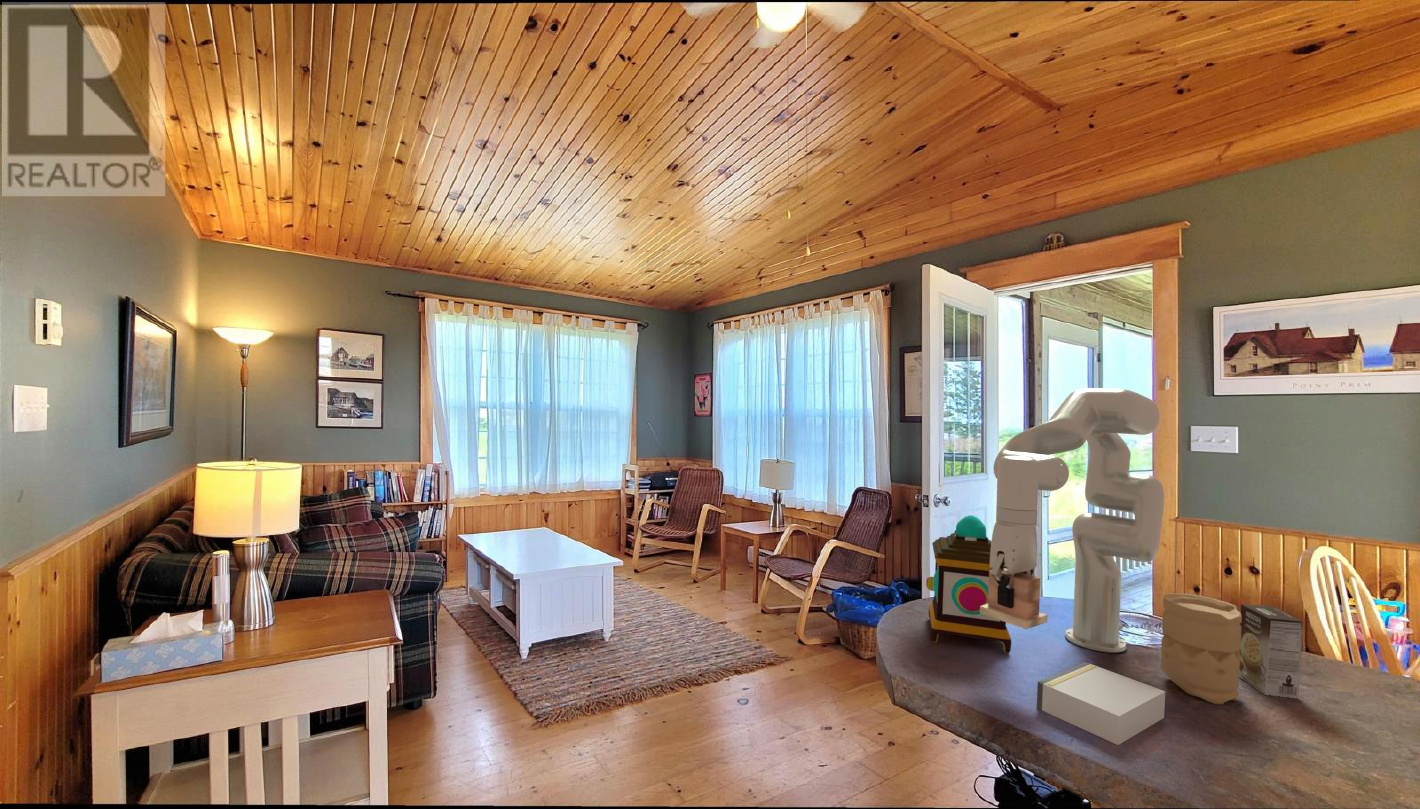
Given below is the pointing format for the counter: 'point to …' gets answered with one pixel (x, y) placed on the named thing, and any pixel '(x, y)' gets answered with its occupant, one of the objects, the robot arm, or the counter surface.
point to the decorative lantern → (964, 585)
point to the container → (1202, 646)
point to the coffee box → (1270, 650)
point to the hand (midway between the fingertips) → (1013, 602)
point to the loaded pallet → (1014, 618)
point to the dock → (1101, 702)
